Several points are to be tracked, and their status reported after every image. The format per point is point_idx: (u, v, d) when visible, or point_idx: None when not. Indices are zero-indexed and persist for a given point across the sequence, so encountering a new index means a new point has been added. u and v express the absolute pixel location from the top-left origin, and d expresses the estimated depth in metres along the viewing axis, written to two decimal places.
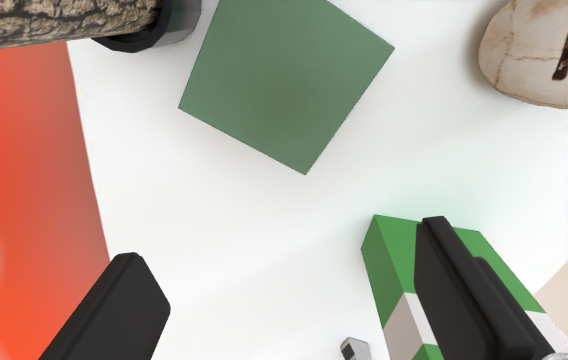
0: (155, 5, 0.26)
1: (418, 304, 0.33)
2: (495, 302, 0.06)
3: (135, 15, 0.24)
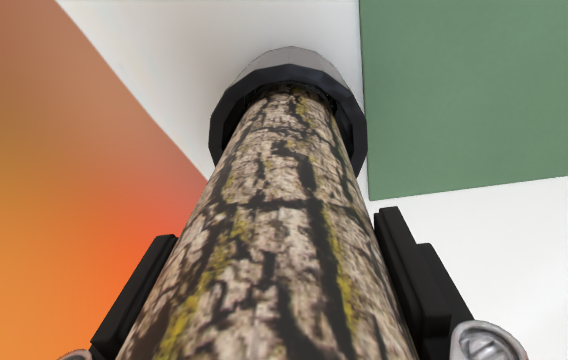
0: None
1: None
2: (425, 279, 0.07)
3: None
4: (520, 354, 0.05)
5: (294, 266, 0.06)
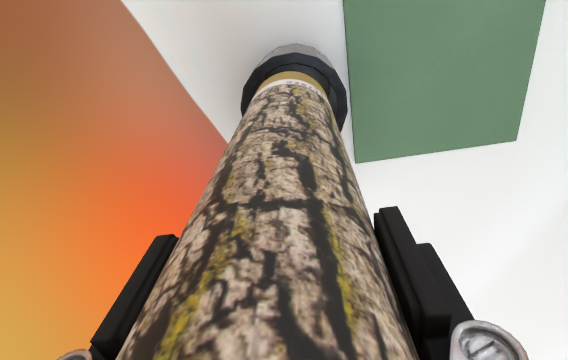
0: None
1: None
2: (425, 279, 0.07)
3: None
4: (520, 354, 0.05)
5: (294, 265, 0.06)
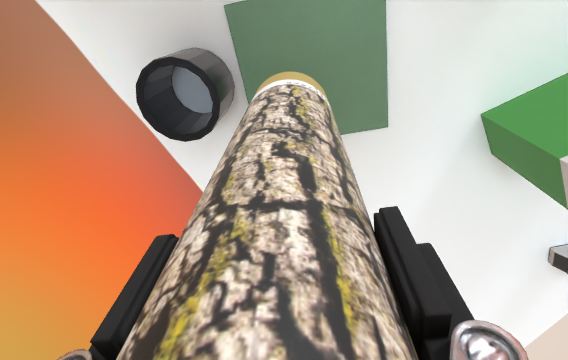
0: None
1: None
2: (425, 279, 0.07)
3: None
4: (520, 354, 0.05)
5: (294, 267, 0.06)
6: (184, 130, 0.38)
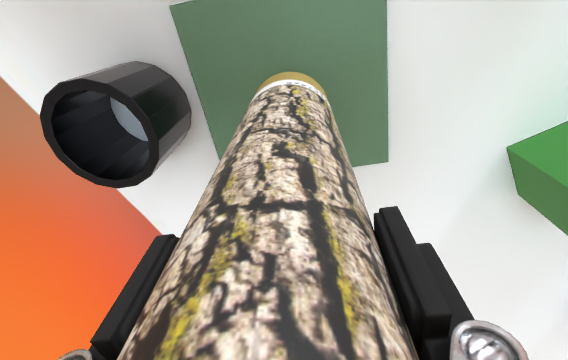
0: None
1: None
2: (425, 279, 0.07)
3: None
4: (520, 354, 0.05)
5: (295, 268, 0.06)
6: (118, 172, 0.29)
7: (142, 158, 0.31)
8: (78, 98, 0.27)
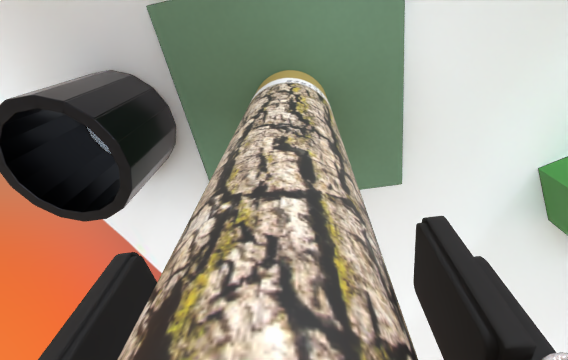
0: None
1: None
2: (495, 302, 0.06)
3: None
4: None
5: (295, 248, 0.06)
6: (86, 201, 0.24)
7: (118, 182, 0.27)
8: (37, 115, 0.23)
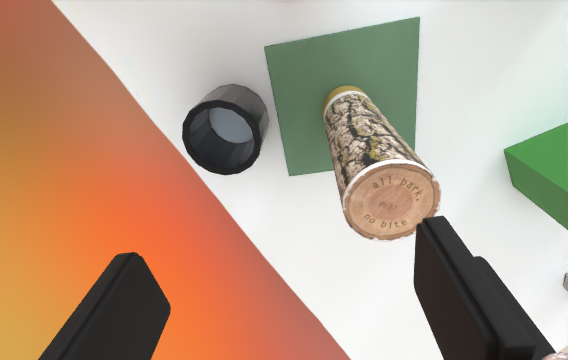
0: None
1: None
2: (495, 302, 0.06)
3: None
4: None
5: (395, 145, 0.22)
6: (223, 164, 0.40)
7: (235, 154, 0.43)
8: (201, 111, 0.38)
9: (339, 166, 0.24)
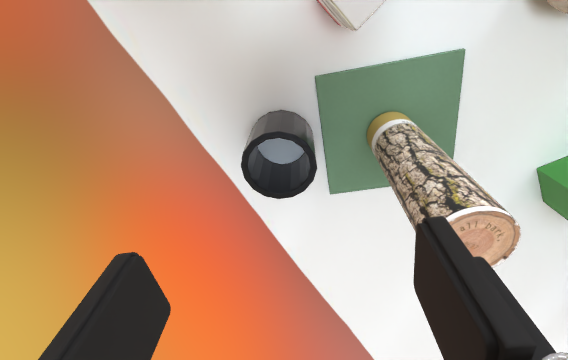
0: None
1: None
2: (495, 302, 0.06)
3: None
4: None
5: (474, 188, 0.24)
6: (276, 187, 0.42)
7: (284, 177, 0.45)
8: None
9: (415, 204, 0.26)
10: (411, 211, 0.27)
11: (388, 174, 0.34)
